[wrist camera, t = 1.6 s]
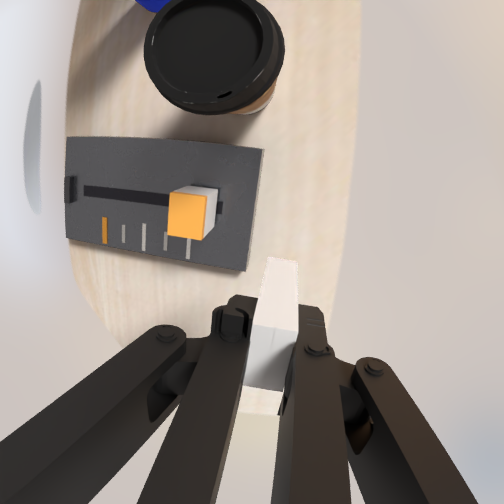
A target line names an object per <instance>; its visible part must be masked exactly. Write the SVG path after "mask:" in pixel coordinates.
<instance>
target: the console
mask: <svg viewBox="0 0 504 504" xmlns="http://www.w3.org/2000/svg"><path fill="white" fill-rule="evenodd" d="M263 156H264V149H260V148H253V147H245V146H237V145H229V144H220V143H210V142H199V141H188V140H175V139H160V138H141V137H109V136H74V137H67V143H66V161H65V178H64V203H65V226H66V238H69V239H74V240H79V241H84V242H89V243H94V244H99V245H104V246H109V247H114V248H120V249H125V250H130V251H135V252H140V253H146V254H151V255H156V256H162V257H167V258H172V259H178V260H183V261H189V262H194V263H200V264H205V265H211V266H216V267H222V268H228V269H233V270H239V271H245V272H246V269H247V267H248V263H249V256H250V249H251V242H252V235H253V227H254V220H255V213H256V206H257V199H258V192H259V184H260V177H261V170H262V163H263ZM187 185H188V186H196V187H203V188H211V189H218V195H217V204H216V214H215V223H214V227H213V228H212V230H211V231H210V232H209V233H208V234H207V235H206V236H205V237H204V238H203V239H202V240H195V239H189V238H183V237H177V236H171V235H167V231H168V213H169V199H170V192H173V191H175V190H177V189H180V188H182V187H185V186H187Z"/></svg>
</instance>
